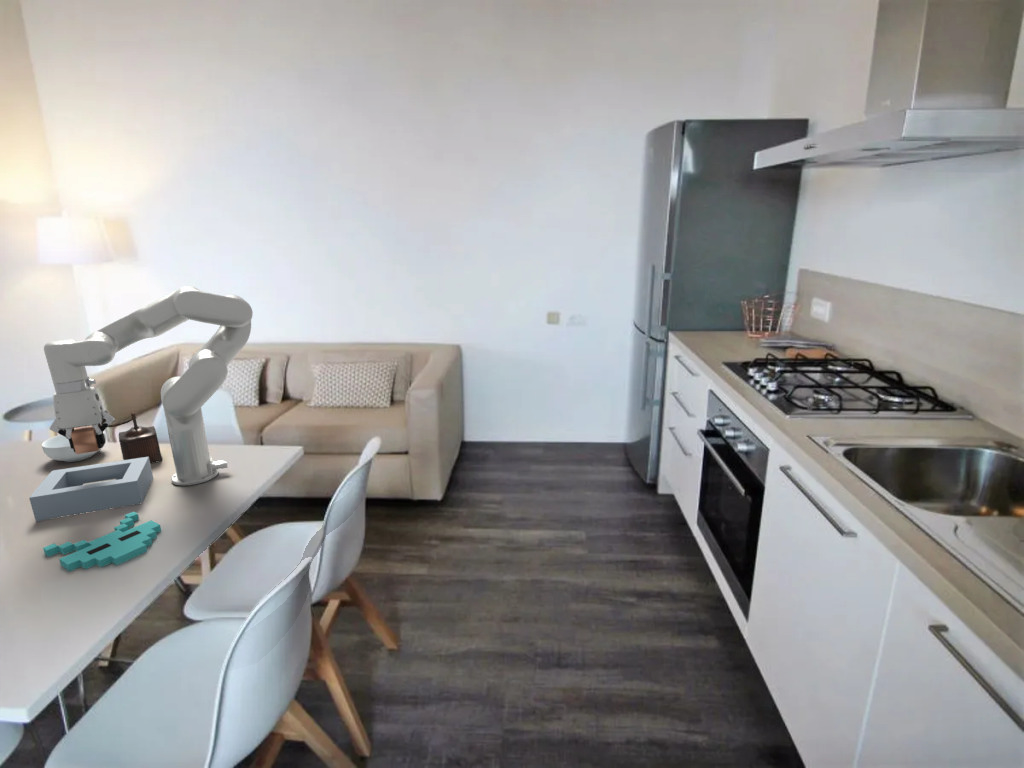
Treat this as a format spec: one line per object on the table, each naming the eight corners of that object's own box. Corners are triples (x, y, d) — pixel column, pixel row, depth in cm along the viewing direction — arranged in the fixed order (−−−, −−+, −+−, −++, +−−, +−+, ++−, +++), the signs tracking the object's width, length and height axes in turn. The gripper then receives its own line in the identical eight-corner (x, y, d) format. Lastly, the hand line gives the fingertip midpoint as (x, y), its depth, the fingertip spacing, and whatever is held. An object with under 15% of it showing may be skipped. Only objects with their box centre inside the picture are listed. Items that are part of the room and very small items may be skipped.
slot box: (153, 477, 173) (148, 456, 171) (141, 503, 157) (136, 480, 155) (57, 492, 164) (52, 470, 162) (35, 521, 148) (29, 497, 146)
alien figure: (45, 555, 134) (83, 582, 124) (42, 547, 133) (81, 573, 123) (135, 518, 150) (176, 539, 140) (133, 511, 150) (174, 531, 139)
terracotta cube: (102, 444, 160) (97, 424, 158) (98, 450, 156) (92, 430, 154) (81, 447, 158) (76, 427, 156) (76, 454, 154) (70, 433, 152)
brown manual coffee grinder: (159, 450, 194) (149, 400, 189) (163, 461, 185) (152, 409, 180) (105, 461, 185) (92, 410, 180) (105, 473, 177) (93, 419, 172)
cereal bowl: (108, 443, 201) (104, 425, 199) (110, 458, 188) (105, 439, 186) (47, 455, 191) (42, 436, 189) (45, 472, 178) (39, 451, 176)
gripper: (113, 378, 158) (128, 438, 163) (38, 386, 152) (56, 449, 157) (106, 385, 151) (122, 447, 157) (28, 394, 145) (47, 459, 150)
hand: (89, 447), depth 157 cm, fingers closed on terracotta cube, 5 cm apart
